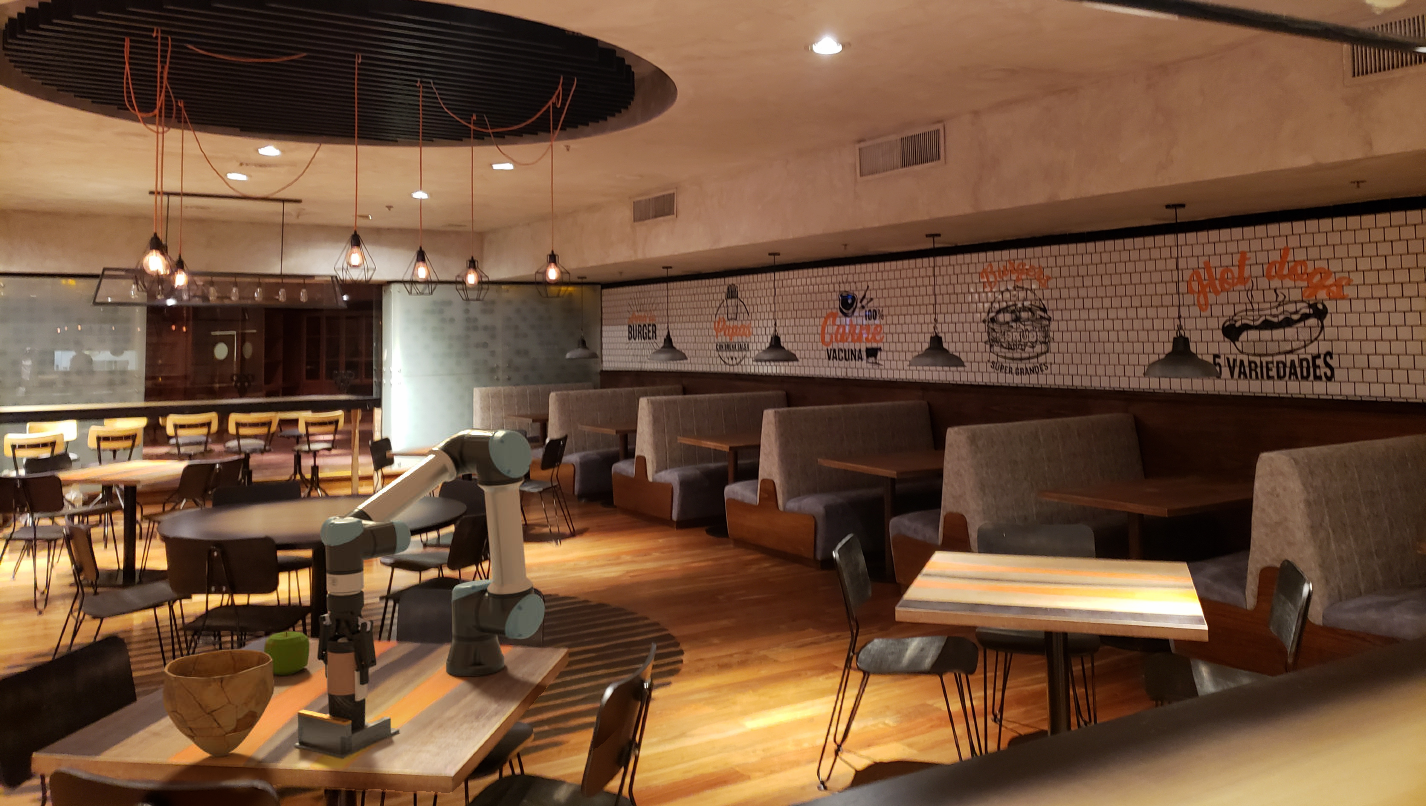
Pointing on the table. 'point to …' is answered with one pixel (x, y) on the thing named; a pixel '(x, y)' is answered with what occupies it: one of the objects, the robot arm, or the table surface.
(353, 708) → the travel mug
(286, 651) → the apple
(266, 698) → the bowl
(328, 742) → the grey holder
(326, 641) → the robot arm
